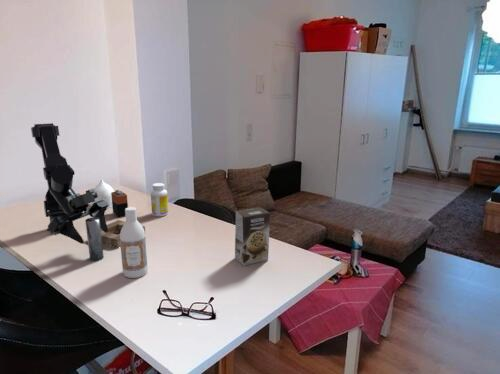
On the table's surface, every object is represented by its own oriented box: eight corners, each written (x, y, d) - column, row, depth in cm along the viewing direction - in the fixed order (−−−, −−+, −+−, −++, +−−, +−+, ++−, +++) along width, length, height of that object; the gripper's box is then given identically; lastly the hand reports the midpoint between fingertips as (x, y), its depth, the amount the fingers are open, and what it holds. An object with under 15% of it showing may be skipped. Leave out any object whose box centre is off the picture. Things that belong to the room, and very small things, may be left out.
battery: (118, 217, 152) (116, 194, 149) (112, 213, 157) (110, 190, 154) (129, 215, 154) (127, 192, 151) (122, 210, 159) (121, 188, 156)
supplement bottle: (170, 211, 159) (169, 182, 155) (165, 217, 153) (164, 187, 149) (155, 211, 160) (153, 181, 156) (149, 216, 153) (147, 186, 150)
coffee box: (243, 266, 115) (244, 217, 110) (234, 257, 120) (234, 210, 116) (269, 260, 119) (270, 212, 114) (259, 252, 124) (260, 206, 120)
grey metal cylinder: (87, 259, 118) (82, 220, 114) (97, 254, 121) (93, 216, 117) (96, 262, 116) (91, 223, 112) (106, 257, 119) (102, 218, 116)
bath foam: (122, 280, 106) (115, 213, 101) (124, 268, 113) (118, 205, 107) (147, 277, 108) (142, 212, 102) (148, 265, 114) (143, 203, 109)
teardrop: (98, 200, 172) (96, 174, 169) (121, 201, 171) (119, 176, 167) (85, 208, 162) (82, 181, 158) (109, 210, 160) (106, 182, 157)
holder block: (90, 240, 131) (89, 232, 130) (118, 227, 142) (118, 219, 141) (118, 248, 126) (117, 239, 125) (145, 234, 137) (144, 226, 136)
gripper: (48, 190, 106) (80, 234, 104) (101, 175, 122) (130, 213, 120) (35, 212, 111) (65, 254, 110) (87, 195, 127) (114, 231, 126)
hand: (95, 237), depth 116 cm, fingers open, 9 cm apart
